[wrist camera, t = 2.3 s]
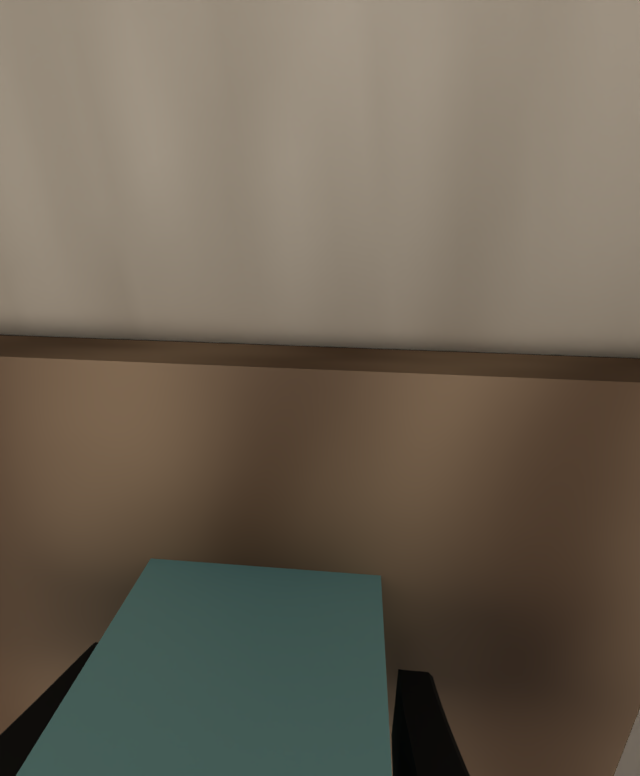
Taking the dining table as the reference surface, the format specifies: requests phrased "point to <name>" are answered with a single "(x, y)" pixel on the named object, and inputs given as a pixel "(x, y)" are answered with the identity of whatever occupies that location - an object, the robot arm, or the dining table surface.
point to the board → (344, 515)
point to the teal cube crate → (229, 679)
